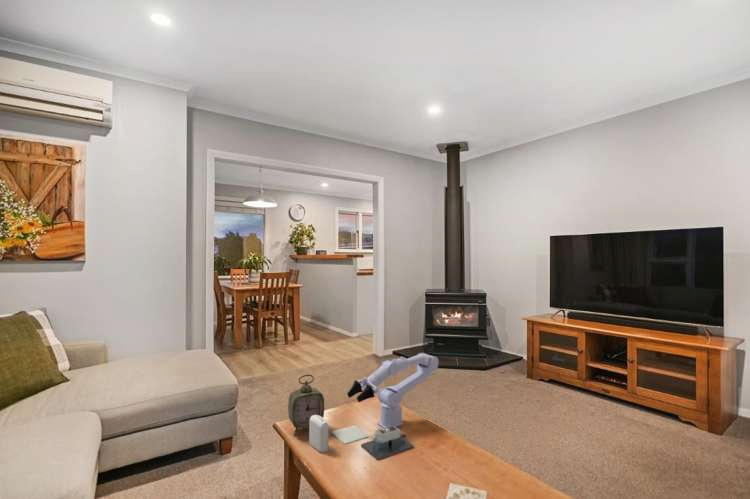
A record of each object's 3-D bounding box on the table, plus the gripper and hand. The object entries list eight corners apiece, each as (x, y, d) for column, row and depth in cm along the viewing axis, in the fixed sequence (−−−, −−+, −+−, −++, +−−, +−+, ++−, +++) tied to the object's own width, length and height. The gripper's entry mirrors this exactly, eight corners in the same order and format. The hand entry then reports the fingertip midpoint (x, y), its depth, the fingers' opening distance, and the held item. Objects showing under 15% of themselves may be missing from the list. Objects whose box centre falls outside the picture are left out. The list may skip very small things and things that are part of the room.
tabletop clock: (291, 438, 161) (292, 380, 161) (286, 429, 169) (287, 373, 169) (324, 431, 168) (324, 375, 168) (317, 422, 176) (318, 369, 176)
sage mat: (354, 425, 173) (354, 425, 173) (368, 436, 163) (368, 436, 163) (331, 432, 167) (331, 431, 167) (344, 444, 157) (344, 443, 157)
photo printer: (307, 443, 157) (308, 413, 157) (316, 440, 160) (317, 411, 160) (320, 454, 149) (320, 422, 149) (329, 450, 152) (330, 419, 152)
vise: (396, 435, 165) (396, 418, 165) (413, 447, 155) (413, 429, 155) (361, 446, 155) (361, 428, 155) (377, 460, 145) (377, 440, 145)
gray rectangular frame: (392, 432, 160) (392, 424, 160) (399, 437, 156) (400, 429, 156) (375, 437, 155) (375, 430, 155) (381, 442, 151) (382, 435, 151)
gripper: (363, 368, 176) (340, 386, 168) (382, 375, 164) (358, 394, 156) (369, 381, 177) (346, 399, 169) (387, 388, 165) (365, 408, 158)
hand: (352, 398), depth 163 cm, fingers open, 7 cm apart
